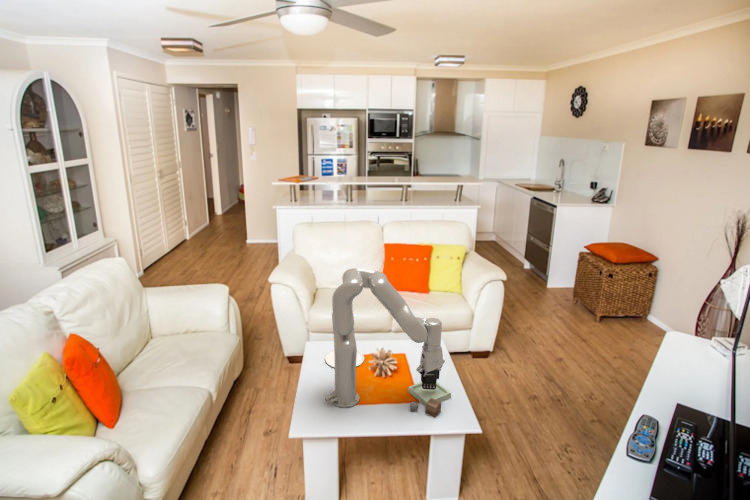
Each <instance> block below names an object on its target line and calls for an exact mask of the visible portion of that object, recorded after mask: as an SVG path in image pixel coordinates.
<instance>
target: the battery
mask: <svg viewBox="0 0 750 500" xmlns="http://www.w3.org/2000/svg"><path fill="white" fill-rule="evenodd" d="M424 372H425V370H423V373H424ZM437 375H438V369H435V370H433V371H430V372H427V374H426V376H427V383H426V384H424V383H423V382H422V388H423V389H432V390H434V389H436V382H437V381H438V379H437Z"/></svg>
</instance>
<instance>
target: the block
mask: <svg viewBox="0 0 750 500" xmlns="http://www.w3.org/2000/svg"><path fill="white" fill-rule="evenodd" d="M424 409H425V410H424V413H425V415H428V416H431V417H433V418H436V417H437V416H439V415H440V413H441V412H442V401H441V402H440V401H438V400H435V399H433V398H431V399H430V400H429V401H428V402H427V403H426V406H425V408H424Z"/></svg>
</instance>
